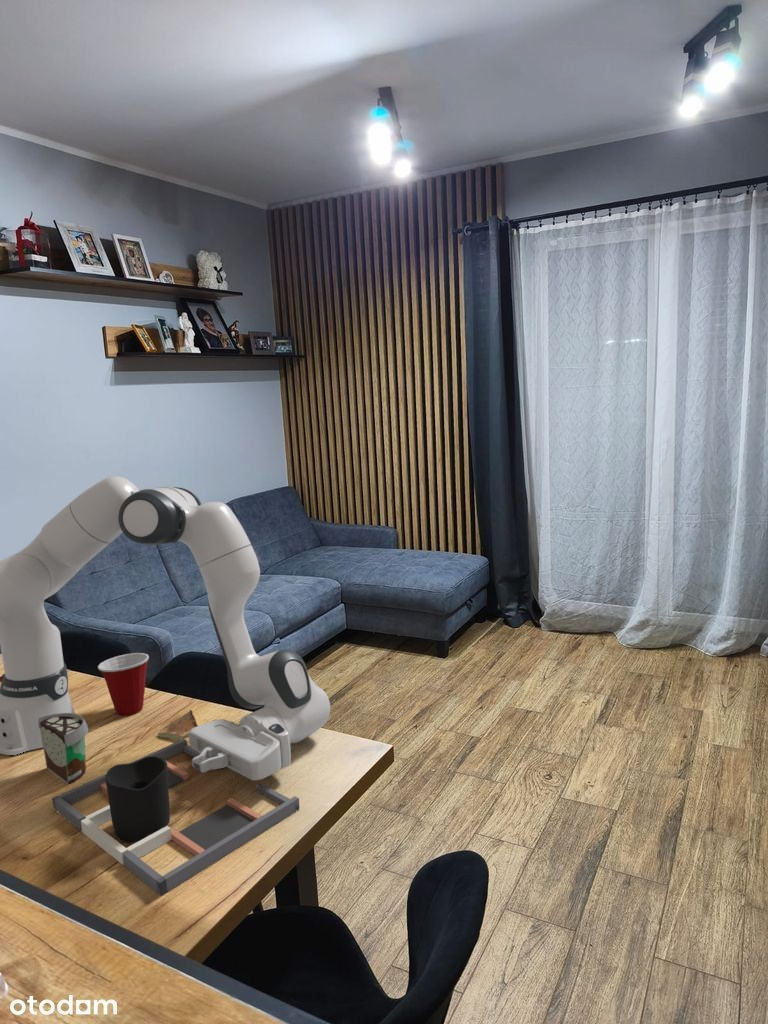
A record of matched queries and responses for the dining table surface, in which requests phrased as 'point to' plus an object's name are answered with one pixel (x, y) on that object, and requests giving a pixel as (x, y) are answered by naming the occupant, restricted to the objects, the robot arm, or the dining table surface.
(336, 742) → the dining table surface
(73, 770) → the food container
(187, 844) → the box
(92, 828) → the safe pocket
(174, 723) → the shard
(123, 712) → the plastic cup
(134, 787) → the pen holder
